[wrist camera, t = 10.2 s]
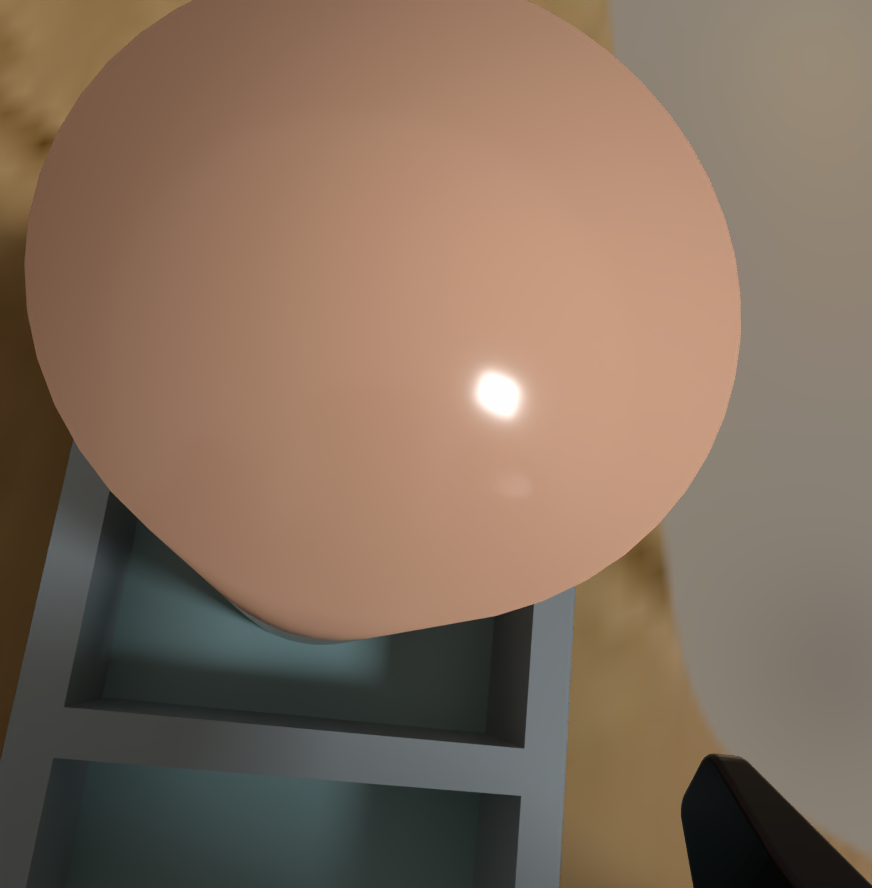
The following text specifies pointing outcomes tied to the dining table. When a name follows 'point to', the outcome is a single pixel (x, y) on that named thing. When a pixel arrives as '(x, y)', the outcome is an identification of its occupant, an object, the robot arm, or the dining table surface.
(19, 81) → the dining table surface
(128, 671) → the divided tray
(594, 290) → the peach round cylinder
